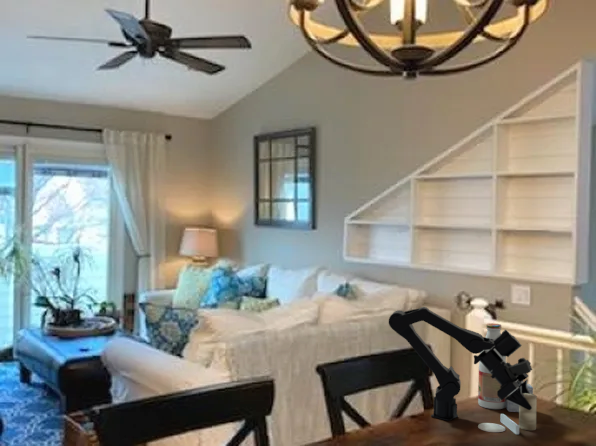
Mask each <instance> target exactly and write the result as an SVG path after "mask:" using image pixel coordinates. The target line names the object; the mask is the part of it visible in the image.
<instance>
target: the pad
mask: <svg viewBox="0 0 596 446" xmlns="http://www.w3.org/2000/svg"><path fill="white" fill-rule="evenodd" d="M477 427H478V429H479V430H481V431H484V432H489V433H503V432H505V431H506V426H505V425H503V424H502V425H501V424H499V423H492V422H482V423H479V424H478V426H477Z"/></svg>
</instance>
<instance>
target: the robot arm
mask: <svg viewBox="0 0 596 446" xmlns="http://www.w3.org/2000/svg"><path fill="white" fill-rule="evenodd" d="M419 322H425V323H426V324H427V325H430V326H432V327H433V328H435V329H437V330H439V331H441V332H442V333H444V334H446V335H448V336H449V337H451V338H453V339H454V340H456V341H457V342H458V343H459V344H460V345H461V346H462V347H463V348H465V349H466V350H467V351H468V352H470V353H471V354H475V355H473V364H474V365H477V364H479V362H481V363H482V364H483V365H484V366H485V367H486V369H487V370H488V371H489V372H490V373H491V374H492V376H491V377H492V378H495V379H496V380H497V381H498V382H499V383H500V385H501V386H500V389H499V390H498V391H497V396H498V397H499V398H500V399H501V400H503V399H504V398H505V397H506V396H508V397H506V398H505V399H506V400H509V401H511V402H514V403H516V404H518V405H520V406H522V407H524V408H526V409H528V410H531V409H532V407H531V405H530V404H529V402H528V401H527V399H526V398H525V396H524V395H523V393H529V394H530V392H529V390H528V388H527V384H528V381H529V380H528V379H527V378H528V377H529V375H528V373H531V371H533V368H532V366H531V364H532V363H531V362H530V361H529V359H526V358H525V357H521V358H518V360H517V363H514V364H511V363H510V362H507V361H506V363H505V362H504V360H503V359H502V358H501V357H500V356H499V355H498V354H497V353H496V352H495V350H494V349H496V350H497V351H498V352H499V354H500V355H501V356H503V357H504V356H506V358H509V357H510V356H511V355H513V354H514V353H515V352H516V351H518V349H520V348H521V347H522V344H521V342H520V341H518V339H517V338H516V337H515V336H514V335H513V334H511V333H510V332H509V331H508V330H507V329H504V330H503V331H502V332H500V333H501V335H499V336H498V337H497V338H496V339H495V340H494V339H490V338H485V337H486V336H485V337H484V336H483V335H482V334H481V333H478V332H476V331H473V330H471V329H467V328H464V327H461V326H460V325H459V326H458V325H457V324H455V323H453V322H452V321H449V320H448V319H446V318H444V317H442V316H441V315H439V314H437V313H436V312H434V311H432V310H430V309H429V308H427V307H426V306H422V307H420V308H416V309H414V308H413V309H409V310H406V311H404V310H398V309H397V310H395V311H394V312H392V314H391V315H390V316H389V318H388V326H389V327H390V328H391V330H393V331H394V332H395V333H396V334H397V335H399V336H400V337H402V338H403V339H404V340H406V341H407V342H408V344H409V345H410V346H411V347H412V349H413V350H414V351H415V353H417V355H418V356H419V357H420V358H421V360H422V361H423V362H424V364H425V365H426V366H427V367H428V368H429V370H430V371H431V372H432V373H433V375H434V377H435V379H436V381H437V383H438V386H436V389H435V394H434V396H433V413H432V414H431V415H430V417H431V418H434V419H435V418H436V419H440V420H444V421H449V422H450V421H451V420H454V419H455V418H456V419H457V418H458V416H459V415H458V404H457V398H455V396H457V395H458V394H460V392H461V385H462V382H461V379H460V374H459V373H457V372H456V371H455V369H454V368H453V366H452V365H451V366H449V368H448V367H447V366H445V365H444V364H443V362H441V360H440V359H439V358H438V357H437V356H436V355H435V353H434V352H433V351H432V350H431V348H430V347H429V346H428V345H427V343H426V342H425V341H424V340H423V339H422V338H421V336H420V335H419V333H418V332H417V331H416V329H415V327H414V324H416V323H419ZM491 348H492V349H491ZM489 349H491V350H489ZM483 350H484V351H483ZM485 350H489V351H488V352H487V351H485ZM482 351H483V352H482ZM480 352H482V353H481V354H480ZM477 354H478V355H477ZM501 362H502V363H501ZM525 379H526V380H525Z"/></svg>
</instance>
